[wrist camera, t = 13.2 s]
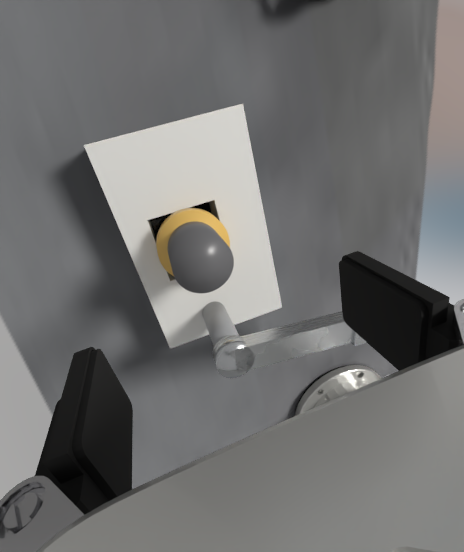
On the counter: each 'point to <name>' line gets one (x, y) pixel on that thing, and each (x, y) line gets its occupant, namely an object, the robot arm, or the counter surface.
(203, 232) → the plug
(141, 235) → the socket block
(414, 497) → the robot arm
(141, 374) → the counter surface
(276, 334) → the clip
